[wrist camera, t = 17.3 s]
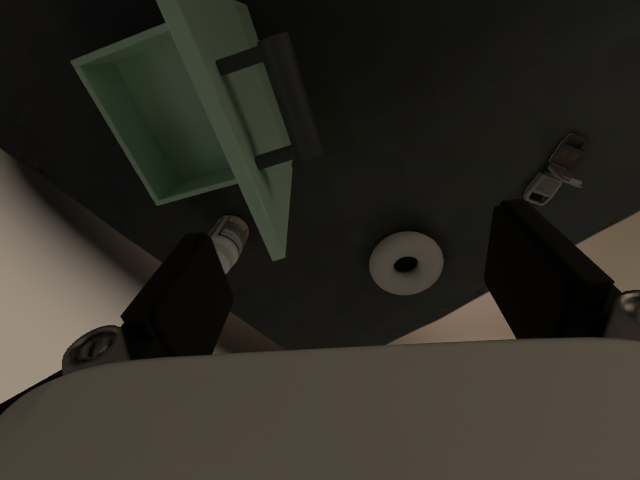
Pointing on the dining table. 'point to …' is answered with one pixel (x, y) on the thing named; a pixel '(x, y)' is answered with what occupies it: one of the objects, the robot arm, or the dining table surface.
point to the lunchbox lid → (247, 105)
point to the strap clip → (557, 171)
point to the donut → (402, 247)
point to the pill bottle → (229, 239)
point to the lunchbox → (163, 112)
